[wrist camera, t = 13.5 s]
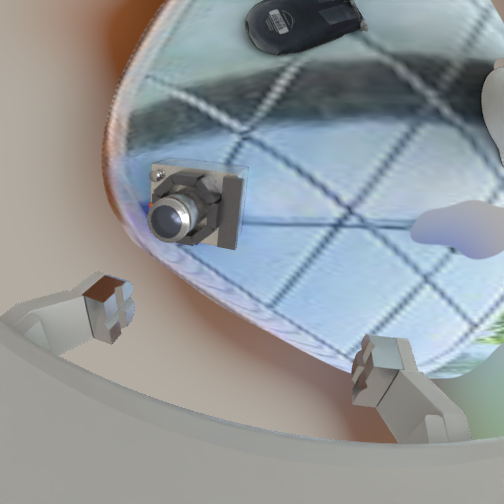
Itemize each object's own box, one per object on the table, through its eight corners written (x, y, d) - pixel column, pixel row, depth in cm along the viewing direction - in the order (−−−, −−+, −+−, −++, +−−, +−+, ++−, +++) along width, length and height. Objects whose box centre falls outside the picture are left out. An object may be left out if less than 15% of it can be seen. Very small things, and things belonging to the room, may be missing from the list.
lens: (211, 190, 38) (188, 204, 31) (206, 227, 40) (184, 248, 33) (175, 183, 38) (147, 196, 32) (172, 219, 41) (145, 238, 34)
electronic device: (332, -15, 29) (235, 13, 32) (342, -28, 24) (232, 1, 27) (359, 37, 33) (262, 66, 36) (372, 30, 28) (263, 61, 31)
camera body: (254, 168, 42) (239, 179, 34) (246, 233, 46) (230, 258, 38) (171, 157, 43) (141, 167, 35) (168, 219, 48) (141, 239, 40)
